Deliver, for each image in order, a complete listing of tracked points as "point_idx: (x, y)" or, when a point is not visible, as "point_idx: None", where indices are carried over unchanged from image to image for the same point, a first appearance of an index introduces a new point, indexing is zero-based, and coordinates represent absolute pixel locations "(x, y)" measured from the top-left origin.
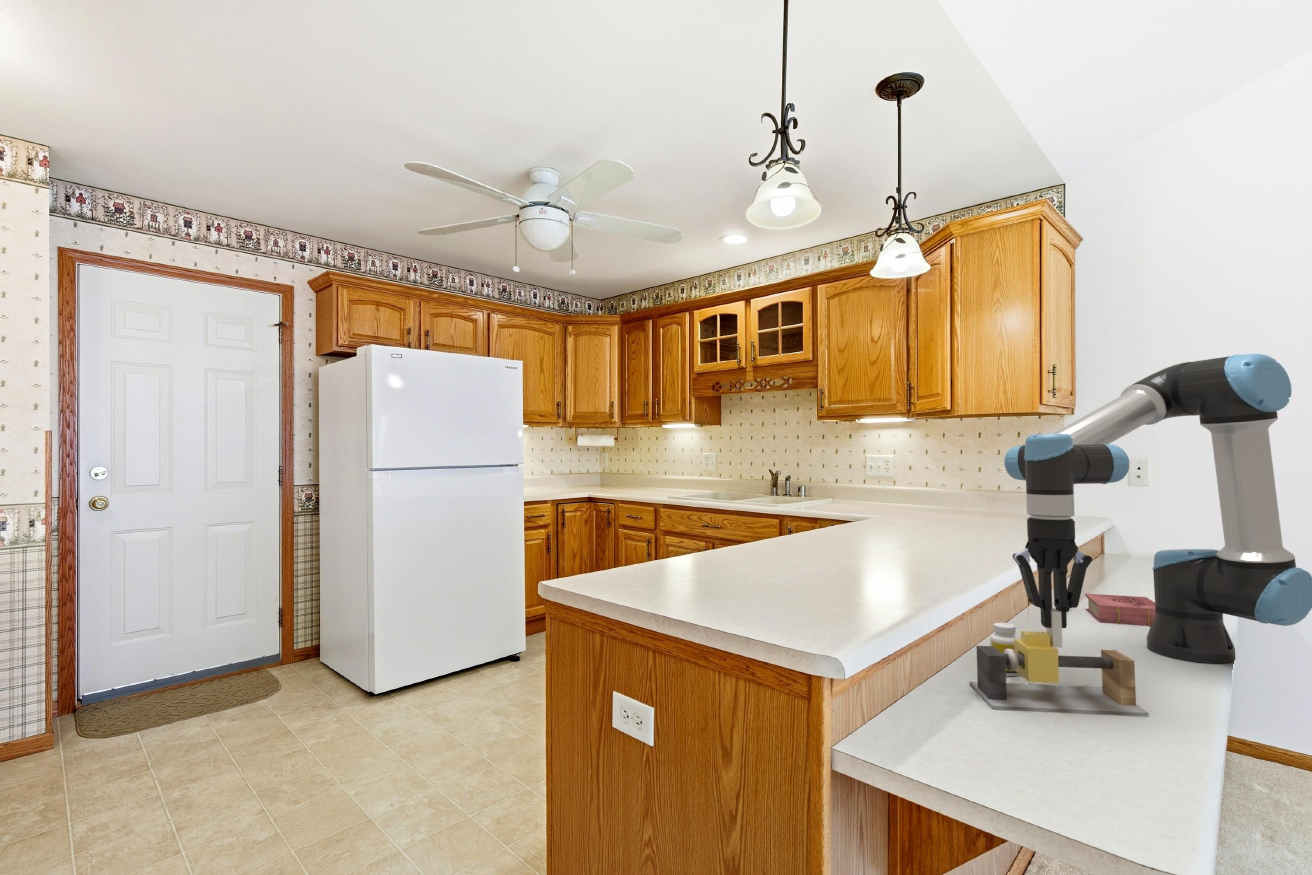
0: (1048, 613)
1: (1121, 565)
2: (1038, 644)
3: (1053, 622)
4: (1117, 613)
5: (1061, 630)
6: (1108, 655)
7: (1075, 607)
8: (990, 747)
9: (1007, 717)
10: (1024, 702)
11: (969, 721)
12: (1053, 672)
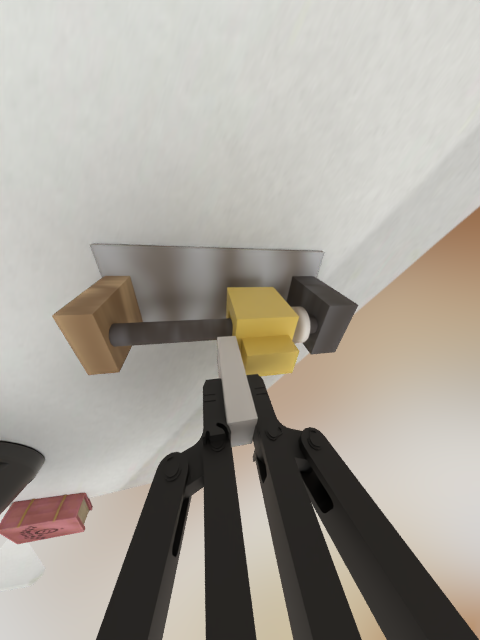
0: (260, 413)
1: (39, 571)
2: (266, 338)
3: (246, 384)
4: (60, 509)
5: (221, 367)
6: (111, 349)
7: (170, 454)
8: (441, 58)
9: (321, 219)
10: (273, 269)
11: (382, 198)
12: (238, 295)
